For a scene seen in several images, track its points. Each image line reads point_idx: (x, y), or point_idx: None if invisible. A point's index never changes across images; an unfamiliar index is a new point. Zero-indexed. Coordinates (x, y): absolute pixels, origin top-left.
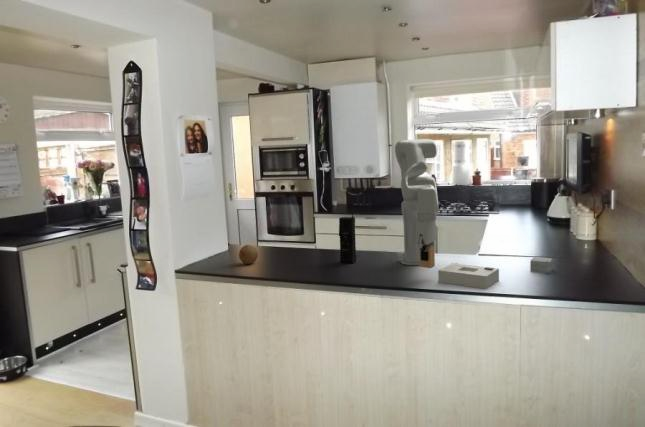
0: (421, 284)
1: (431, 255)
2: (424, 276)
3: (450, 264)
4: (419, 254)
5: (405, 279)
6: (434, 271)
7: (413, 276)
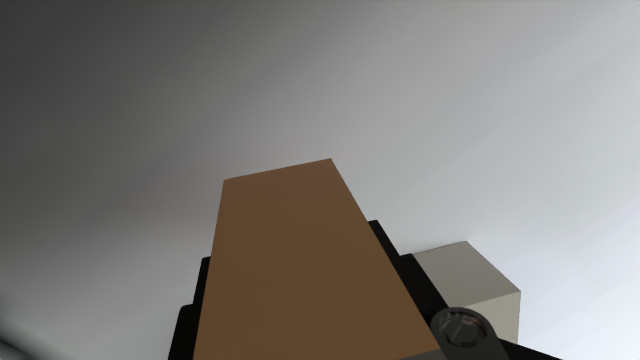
0: (99, 260)
1: None
2: (311, 126)
3: (479, 304)
4: (209, 266)
5: (106, 58)
6: (492, 87)
7: (249, 48)
